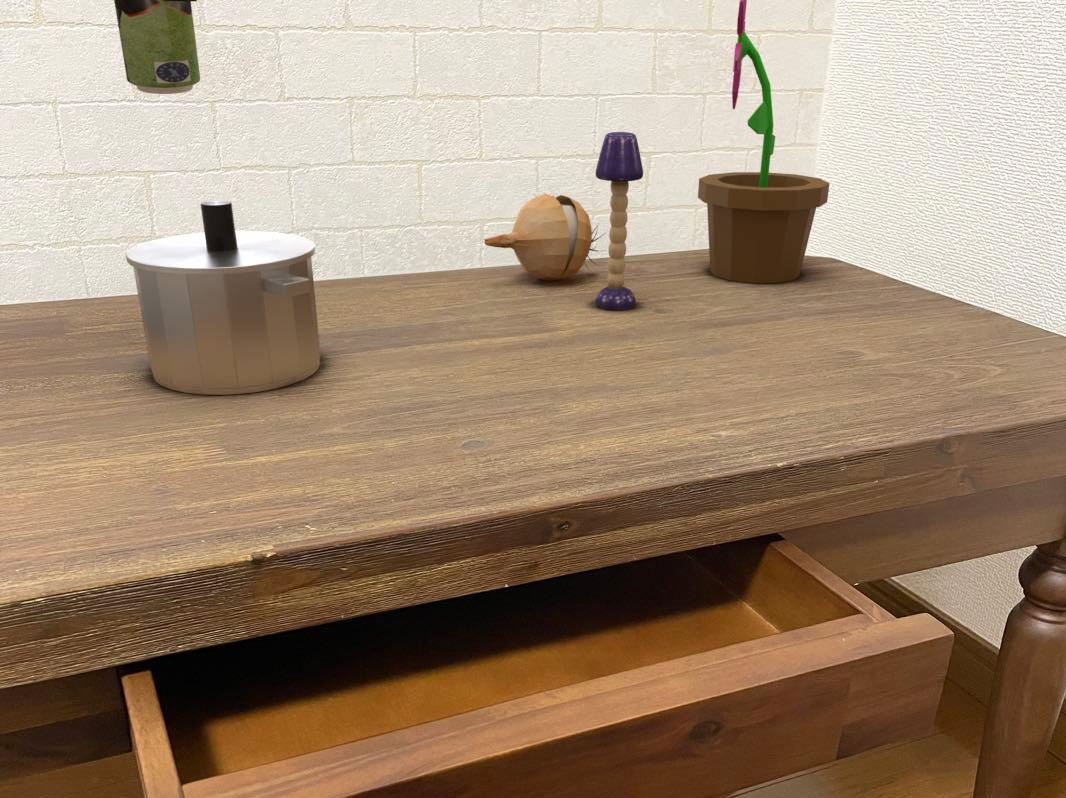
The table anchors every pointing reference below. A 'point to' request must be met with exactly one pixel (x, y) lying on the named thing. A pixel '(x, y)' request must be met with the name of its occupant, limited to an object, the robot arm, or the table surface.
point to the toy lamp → (618, 212)
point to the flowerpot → (759, 200)
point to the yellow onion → (549, 237)
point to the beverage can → (158, 45)
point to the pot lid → (220, 248)
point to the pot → (230, 329)
